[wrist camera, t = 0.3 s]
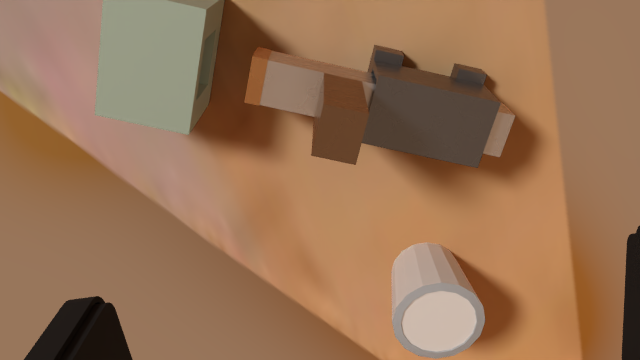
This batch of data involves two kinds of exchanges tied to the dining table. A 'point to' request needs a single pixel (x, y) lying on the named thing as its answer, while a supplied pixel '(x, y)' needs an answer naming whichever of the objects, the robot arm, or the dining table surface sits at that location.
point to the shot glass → (433, 302)
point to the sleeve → (429, 110)
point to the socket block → (157, 61)
